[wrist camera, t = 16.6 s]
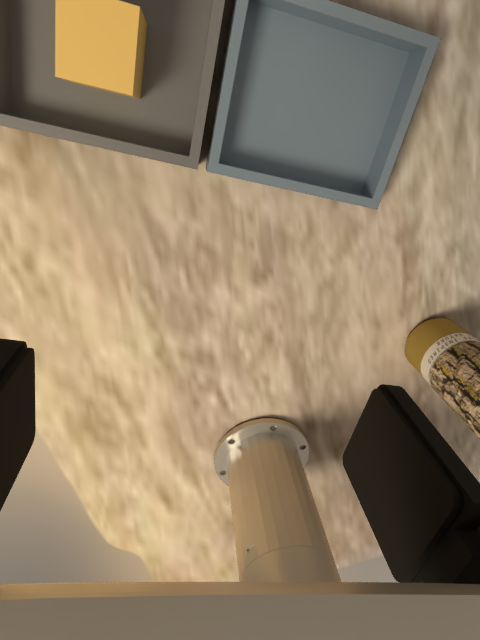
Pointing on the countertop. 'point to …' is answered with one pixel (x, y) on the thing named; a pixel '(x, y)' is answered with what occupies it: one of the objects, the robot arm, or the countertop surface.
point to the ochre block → (100, 44)
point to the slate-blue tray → (316, 97)
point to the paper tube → (449, 365)
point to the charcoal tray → (107, 107)
